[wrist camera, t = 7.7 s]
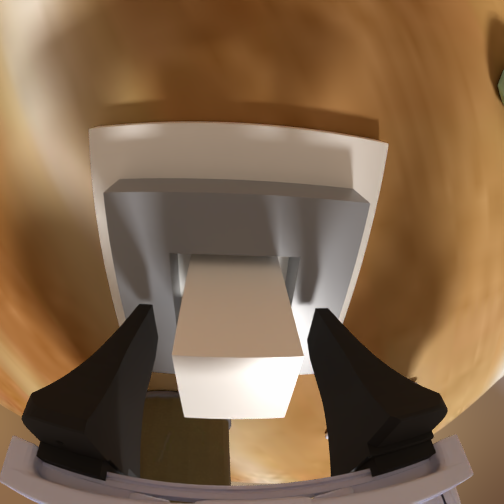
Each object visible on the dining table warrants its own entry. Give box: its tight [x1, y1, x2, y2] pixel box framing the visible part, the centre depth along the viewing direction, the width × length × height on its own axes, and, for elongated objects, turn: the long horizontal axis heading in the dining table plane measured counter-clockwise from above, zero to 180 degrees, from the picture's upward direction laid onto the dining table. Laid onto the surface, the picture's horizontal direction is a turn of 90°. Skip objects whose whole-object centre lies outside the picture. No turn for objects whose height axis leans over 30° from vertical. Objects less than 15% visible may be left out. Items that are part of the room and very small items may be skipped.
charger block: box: [172, 254, 304, 419], centre depth 12 cm, size 4×4×7 cm
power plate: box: [89, 121, 389, 375], centre depth 15 cm, size 16×14×3 cm
